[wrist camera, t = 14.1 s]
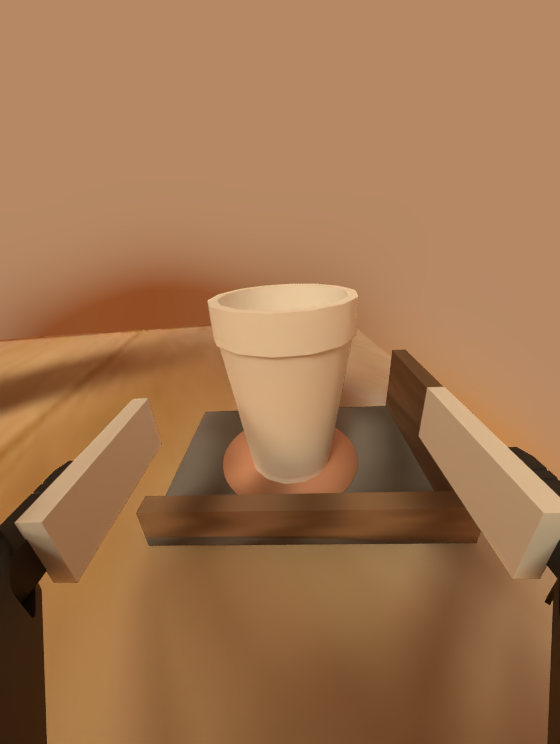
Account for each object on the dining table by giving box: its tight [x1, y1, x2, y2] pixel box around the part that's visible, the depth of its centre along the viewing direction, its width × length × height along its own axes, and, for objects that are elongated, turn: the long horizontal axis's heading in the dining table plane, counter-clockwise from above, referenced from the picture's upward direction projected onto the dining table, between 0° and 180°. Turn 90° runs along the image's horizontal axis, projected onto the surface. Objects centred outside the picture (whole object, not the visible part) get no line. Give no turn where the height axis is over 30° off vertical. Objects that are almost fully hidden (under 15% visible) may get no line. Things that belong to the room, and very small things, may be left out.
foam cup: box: [208, 284, 358, 484], centre depth 21 cm, size 10×9×13 cm
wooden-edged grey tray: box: [136, 350, 481, 546], centre depth 23 cm, size 20×14×7 cm
